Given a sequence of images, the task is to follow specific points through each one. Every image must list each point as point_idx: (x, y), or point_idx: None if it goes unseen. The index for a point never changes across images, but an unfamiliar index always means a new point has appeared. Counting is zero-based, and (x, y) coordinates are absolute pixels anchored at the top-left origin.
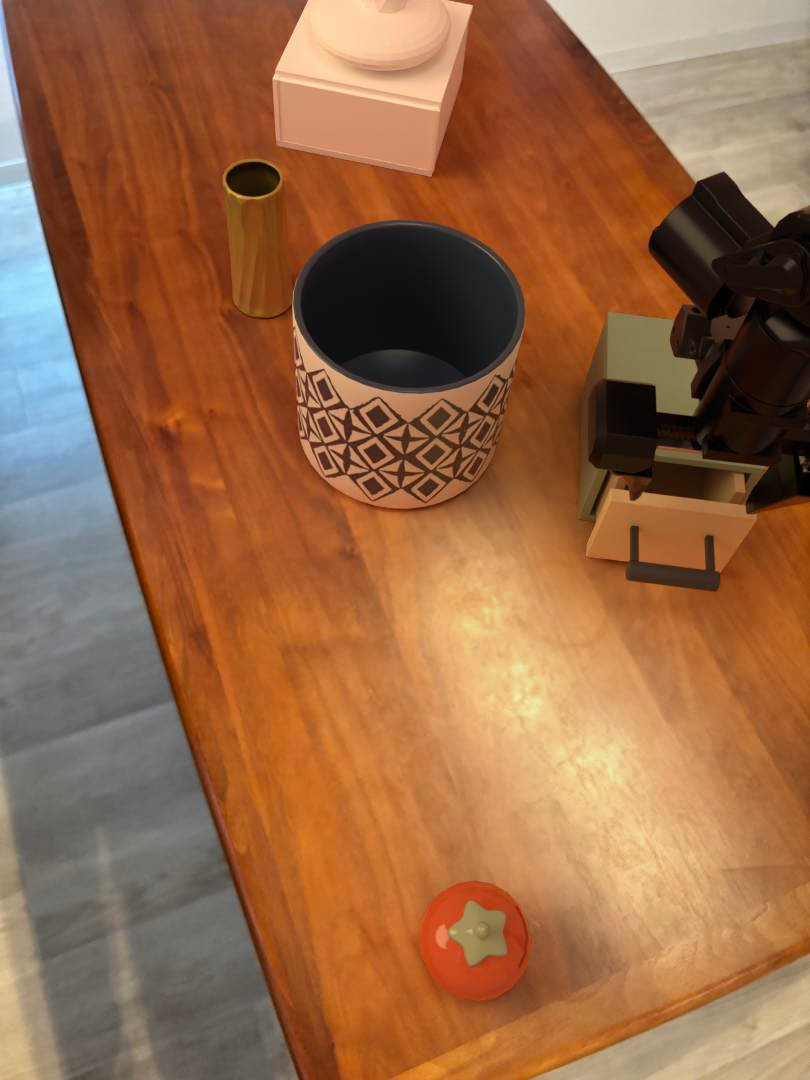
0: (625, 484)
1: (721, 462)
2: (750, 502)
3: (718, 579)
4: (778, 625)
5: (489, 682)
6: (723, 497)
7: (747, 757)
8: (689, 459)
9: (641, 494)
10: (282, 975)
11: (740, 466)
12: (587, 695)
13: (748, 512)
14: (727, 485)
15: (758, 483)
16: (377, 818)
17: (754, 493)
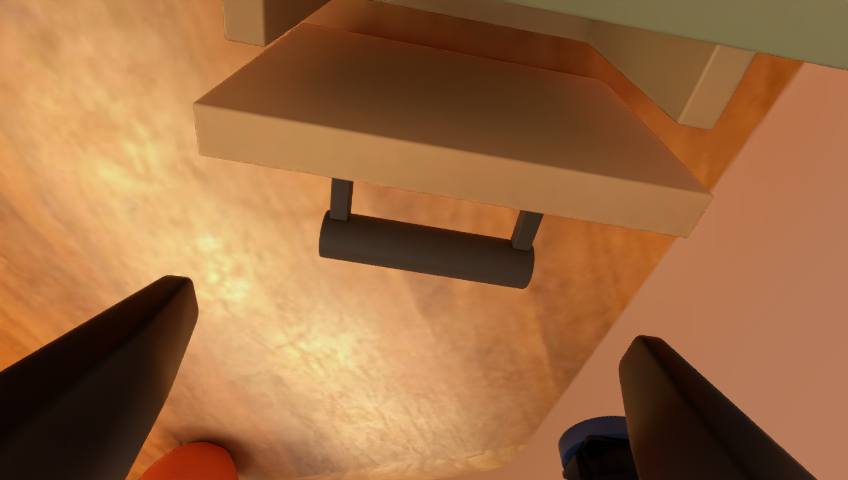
0: (278, 36)
1: (677, 28)
2: (642, 395)
3: (522, 286)
4: None
5: (168, 258)
6: (654, 37)
7: (517, 355)
8: (524, 3)
9: (137, 452)
10: None
11: (759, 51)
12: (314, 281)
13: (621, 388)
14: None
15: (708, 446)
16: None
17: (669, 425)
